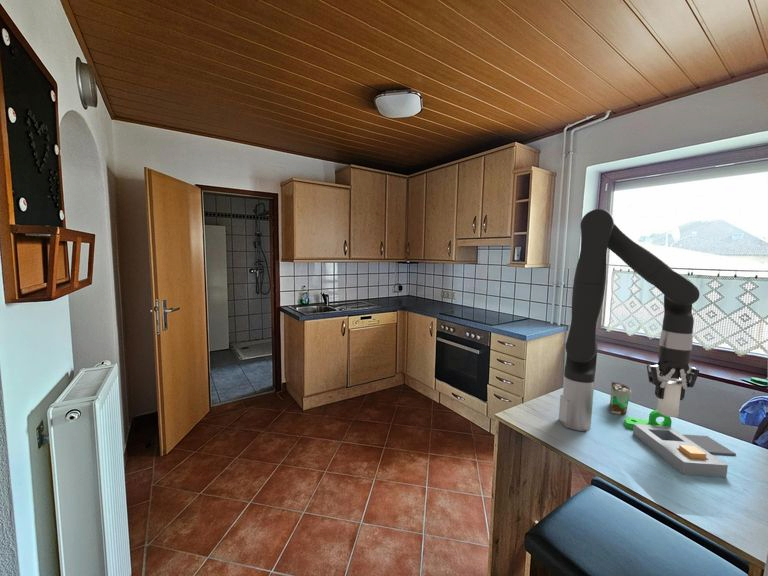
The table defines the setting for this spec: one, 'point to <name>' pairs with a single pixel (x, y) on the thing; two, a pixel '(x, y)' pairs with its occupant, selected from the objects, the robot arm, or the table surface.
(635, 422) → the mechanical part
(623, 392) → the food container
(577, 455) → the table surface
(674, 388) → the white upright cylinder
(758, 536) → the table surface
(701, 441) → the mat
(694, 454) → the orange cube
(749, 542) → the table surface
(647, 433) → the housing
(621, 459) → the table surface
